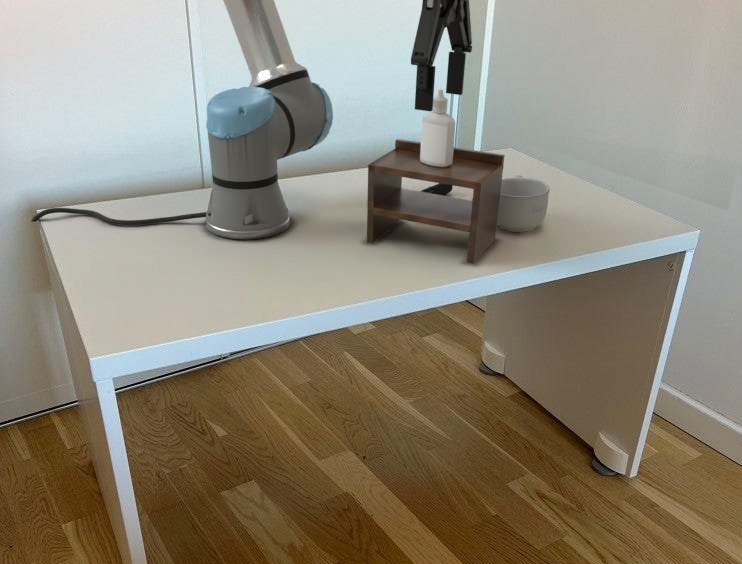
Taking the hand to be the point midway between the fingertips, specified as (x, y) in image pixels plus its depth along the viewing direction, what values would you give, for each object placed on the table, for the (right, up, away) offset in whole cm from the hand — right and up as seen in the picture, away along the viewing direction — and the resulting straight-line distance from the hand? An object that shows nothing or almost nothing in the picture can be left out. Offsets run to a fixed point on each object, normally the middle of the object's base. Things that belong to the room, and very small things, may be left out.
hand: (439, 101), depth 123 cm
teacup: (+16, -16, +21) cm, 31 cm away
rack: (0, -21, +13) cm, 24 cm away
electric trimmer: (0, -10, +30) cm, 32 cm away
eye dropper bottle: (0, -9, +5) cm, 10 cm away
